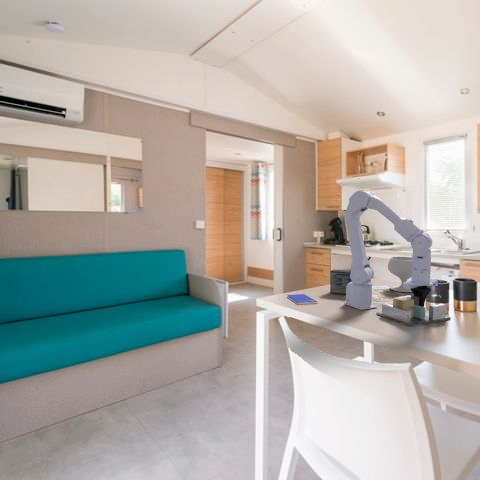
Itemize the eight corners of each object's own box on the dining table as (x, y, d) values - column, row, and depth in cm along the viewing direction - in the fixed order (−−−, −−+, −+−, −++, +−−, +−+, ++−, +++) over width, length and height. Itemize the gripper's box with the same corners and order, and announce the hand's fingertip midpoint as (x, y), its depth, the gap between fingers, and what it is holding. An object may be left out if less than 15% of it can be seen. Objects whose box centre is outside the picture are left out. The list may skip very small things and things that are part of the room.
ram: (395, 310, 116) (396, 294, 116) (404, 309, 118) (405, 292, 117) (420, 318, 107) (421, 300, 107) (430, 317, 109) (430, 299, 108)
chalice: (401, 294, 144) (402, 260, 143) (380, 287, 158) (381, 257, 157) (427, 292, 148) (429, 259, 147) (405, 286, 161) (406, 256, 160)
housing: (392, 315, 112) (393, 298, 112) (402, 313, 114) (402, 296, 113) (403, 319, 108) (404, 301, 107) (413, 317, 110) (414, 299, 109)
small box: (357, 293, 147) (357, 270, 146) (353, 296, 142) (354, 272, 141) (333, 290, 153) (334, 268, 152) (329, 293, 147) (329, 270, 147)
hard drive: (317, 300, 131) (304, 293, 143) (298, 302, 129) (287, 294, 141) (317, 304, 131) (304, 297, 143) (298, 306, 129) (287, 298, 141)
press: (376, 314, 116) (376, 299, 115) (414, 308, 123) (414, 294, 122) (410, 326, 103) (410, 310, 102) (450, 319, 110) (451, 303, 109)
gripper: (416, 272, 106) (414, 313, 107) (446, 269, 112) (445, 308, 113) (398, 269, 113) (397, 307, 114) (427, 266, 118) (426, 303, 119)
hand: (419, 307), depth 114 cm, fingers closed
